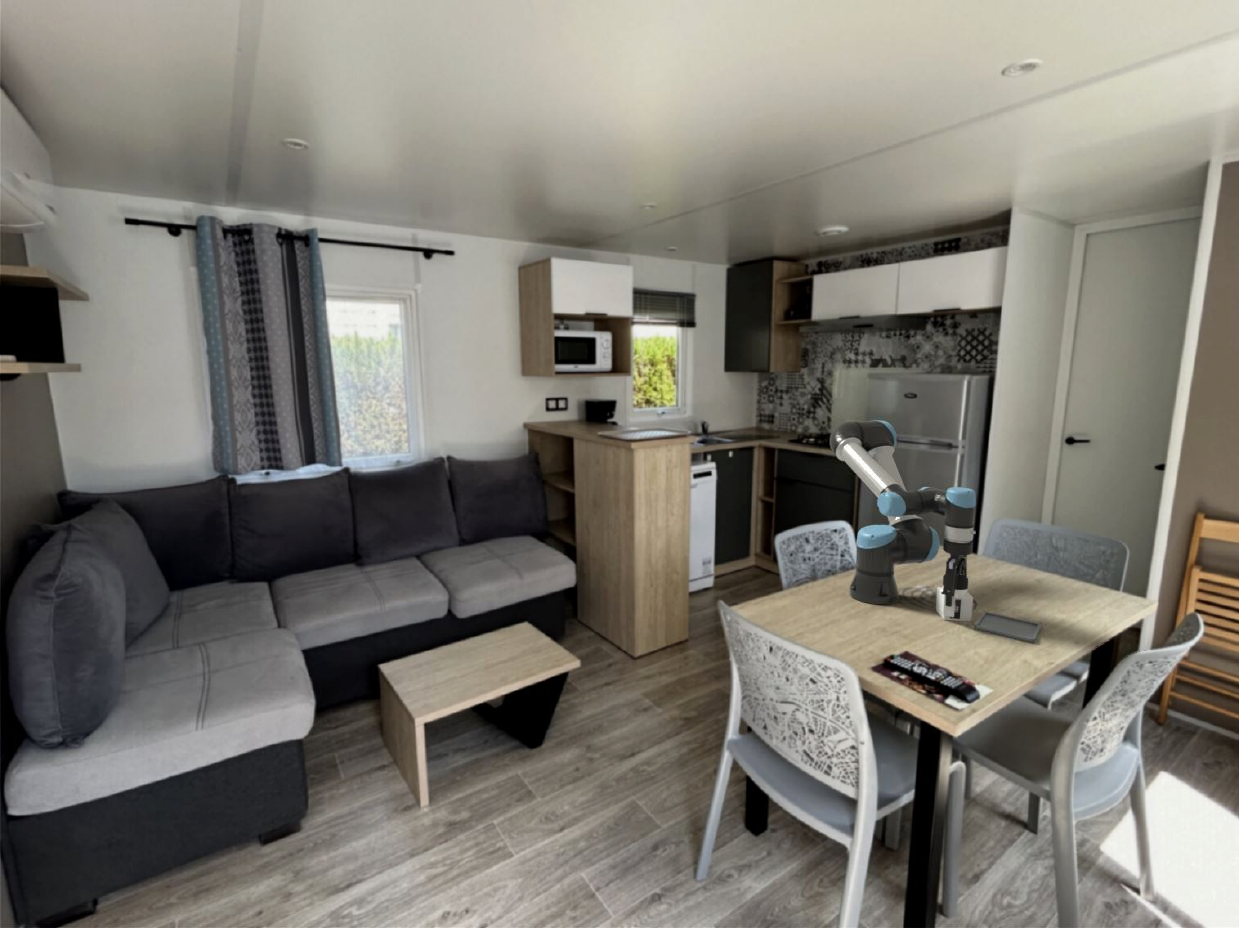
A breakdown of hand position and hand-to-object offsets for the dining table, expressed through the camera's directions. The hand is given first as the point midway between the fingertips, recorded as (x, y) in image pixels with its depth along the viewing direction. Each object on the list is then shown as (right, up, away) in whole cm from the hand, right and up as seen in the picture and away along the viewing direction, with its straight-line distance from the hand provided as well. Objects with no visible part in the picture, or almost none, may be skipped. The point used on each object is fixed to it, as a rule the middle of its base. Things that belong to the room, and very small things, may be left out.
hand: (953, 610), depth 178 cm
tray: (+10, -3, -9) cm, 14 cm away
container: (0, -2, 0) cm, 2 cm away
